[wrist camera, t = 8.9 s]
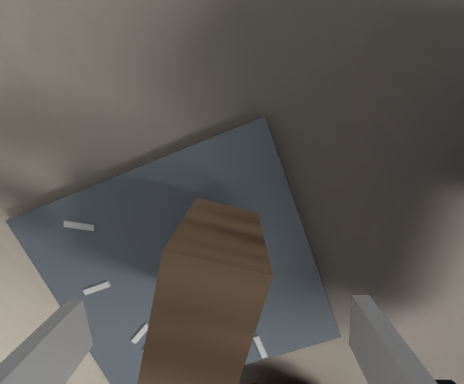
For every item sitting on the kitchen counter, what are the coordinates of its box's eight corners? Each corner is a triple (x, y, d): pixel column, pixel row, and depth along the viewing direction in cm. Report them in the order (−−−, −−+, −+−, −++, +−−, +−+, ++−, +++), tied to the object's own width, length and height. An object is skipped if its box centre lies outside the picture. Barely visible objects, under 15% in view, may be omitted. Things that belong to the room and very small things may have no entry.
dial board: (263, 116, 18) (265, 115, 17) (335, 327, 22) (342, 339, 21) (18, 215, 20) (3, 221, 19) (126, 388, 25) (120, 402, 23)
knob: (195, 185, 18) (145, 246, 8) (262, 201, 18) (289, 279, 8) (155, 372, 22) (93, 555, 13) (210, 384, 23) (188, 573, 13)
